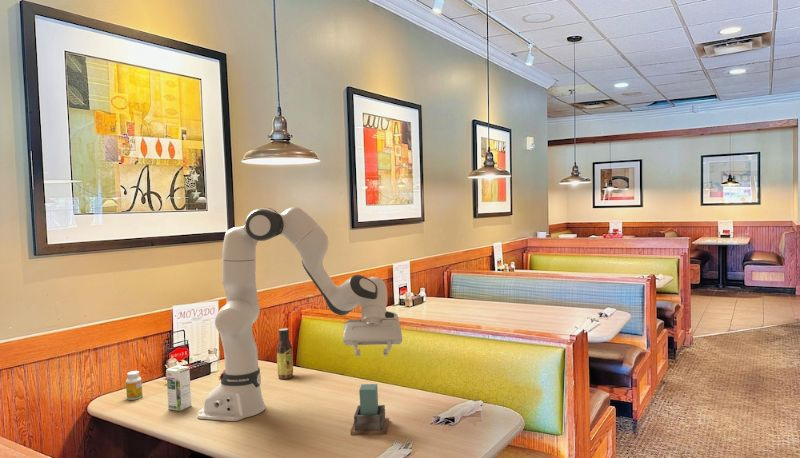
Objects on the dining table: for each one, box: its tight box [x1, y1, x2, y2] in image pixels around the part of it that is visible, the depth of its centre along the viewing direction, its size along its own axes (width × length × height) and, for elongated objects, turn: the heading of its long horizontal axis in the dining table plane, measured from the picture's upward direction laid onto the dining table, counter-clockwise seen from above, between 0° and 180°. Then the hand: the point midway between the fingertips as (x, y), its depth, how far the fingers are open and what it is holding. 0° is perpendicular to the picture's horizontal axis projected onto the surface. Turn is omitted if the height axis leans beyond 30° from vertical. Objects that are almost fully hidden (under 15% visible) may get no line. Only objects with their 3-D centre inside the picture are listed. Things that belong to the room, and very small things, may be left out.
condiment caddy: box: [350, 404, 390, 436], centre depth 171 cm, size 11×10×6 cm
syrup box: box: [165, 365, 192, 412], centre depth 196 cm, size 6×6×14 cm
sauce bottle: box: [276, 327, 294, 380], centre depth 224 cm, size 6×6×20 cm
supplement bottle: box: [125, 370, 144, 401], centre depth 208 cm, size 5×5×10 cm
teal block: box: [358, 383, 379, 415], centre depth 171 cm, size 5×5×12 cm
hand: (371, 355), depth 183 cm, fingers open, 8 cm apart
